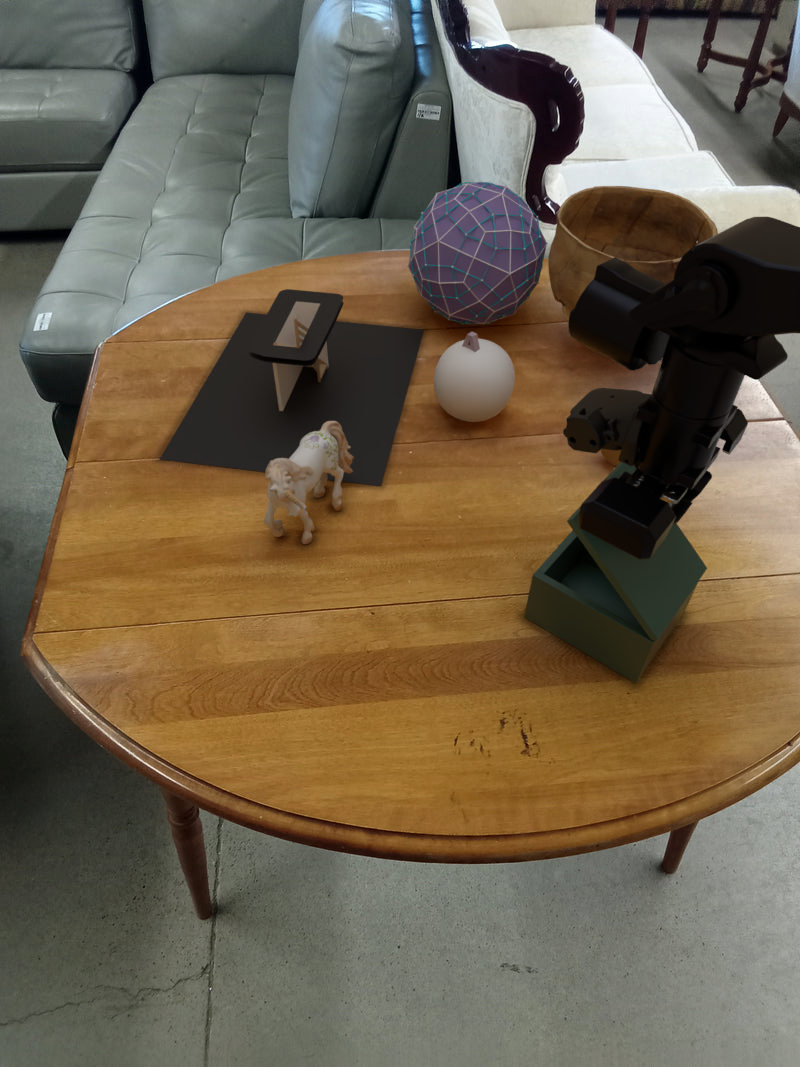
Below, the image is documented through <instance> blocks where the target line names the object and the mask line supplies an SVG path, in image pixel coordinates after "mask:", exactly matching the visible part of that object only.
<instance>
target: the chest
mask: <svg viewBox="0 0 800 1067" xmlns="http://www.w3.org/2000/svg"><path fill="white" fill-rule="evenodd" d="M697 585H698V583H697V584H696V585H695V587H694V588H693V590H692V591H691V593H690V594H689V596H688V597H687V598H686V600H685V601H684V603H683V604H682V606H681V607H680V609H679V610H678V611H677V613H676V614H675V616H674V617H673V619H672V620H671V622H670V623H669V624H668V626H667V627H666V629H665V630H664V632H663V633H662V635H661V636H660V637H659V639H657V640H651V639H650V638H649V636H648V635H647V633H646V632H645V631H644V629H643V628H642V626H641V625H640V624H639V622H638V621H637V619H636V618H635V617H634V615H633V614H632V612H631V611H630V609H629V608H628V607H627V605H626V604H625V602H624V601H623V600H622V598H621V597H620V595H619V594H618V593H617V591H616V590H615V588H614V587H613V586H612V584H611V583H610V581H609V580H608V579H607V577H606V576H605V574H604V573H603V572H602V570H601V569H600V567H599V566H598V565H597V563H596V562H595V560H594V559H593V557H592V556H591V555H590V553H589V552H588V550H587V549H586V548H585V546H584V545H583V543H582V542H581V541H580V539H579V538H578V536H577V535H576V534H575V532H574V531H573V529H571V531H570V532H569V534H568V535H567V536H565V538H564V539H563V540H562V541H561V543H560V544H558V546H557V547H556V548H555V549H554V550H553V551H552V553H550V554H549V556H548V557H547V558H546V559H545V560H544V562H542V563H541V565H540V566H539V567H538V569H537V570H535V572H534V573H533V574H532V577H531V582H530V586H529V587H530V588H529V592H528V596H527V600H526V601H527V602H526V605H525V606H526V607H525V611H524V618H525V619H526V620H529V621H530V622H532V623H533V624H535V625H536V626H538V627H540V628H542V629H543V630H545V631H547V632H548V633H550V634H551V635H553V636H555V637H557V638H559V639H560V640H562V641H563V642H565V643H567V644H569V645H570V646H572V647H573V648H576V649H577V650H578V651H580V652H582V653H584V654H585V655H587V656H589V657H590V658H592V659H594V660H595V661H597V662H599V663H601V664H602V665H603V666H605V667H607V668H609V669H611V671H614V672H616V673H617V674H619V675H620V676H623V677H624V678H626V679H627V680H629V681H630V682H632V683H634V684H637V683H638V682H639V681H640V679H641V677H642V676H643V675H644V673H645V671H646V670H647V669H648V667H649V666H650V664H651V663H652V661H653V660H654V658H655V657H656V655H657V654H658V652H659V651H660V649H661V648H662V646H664V644H665V642H666V641H667V639H668V638H669V637H670V635H671V634H672V632H673V630H674V629H675V627H676V626H677V625H678V624H679V621H681V619H682V618H683V616H684V614H685V612H686V609H687V608H688V605H689V603H690V601H691V598H692V597H693V594H694V592H695V590H696V588H697Z"/></svg>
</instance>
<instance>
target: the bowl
mask: <svg viewBox="0 0 800 1067" xmlns="http://www.w3.org/2000/svg"><path fill="white" fill-rule="evenodd" d="M717 234H719V232H718V228H717V226H716V223H715V222H714V221H713V220H712V219H711V218H710V217H709V215H708V214H707V213H706V212H705V211H704V210H703V209H702V208H701V207H699V206H698V205H697V204H696V203H694V202H693V201H691V200H690V199H688V198H686V197H683V196H681V195H679V194H676V193H673V192H670V191H666V190H662V189H656V188H655V189H654V188H644V187H635V186H628V185H626V186H625V185H598V186H592V187H587V188H584V189H582V190H579V191H577V192H574V193H573V194H571V195H570V196H568V198H566V199H565V200H564V202H562V204H561V205H560V206H559V209H558V212H557V215H556V228H555V233H554V237H553V240H552V242H551V244H550V247H549V248H550V249H549V253H548V264H547V265H548V266H547V267H548V277H549V283H550V288H551V292H552V295H553V298H554V300H555V301H556V302H558V303H560V304H561V306H562V307H561V310H562V314H563V317H564V318H565V320H566V322H567V323H569V317H570V313H571V311H572V310H573V309H574V308H575V306H576V303H577V301H578V300H579V298H580V296H581V294H582V293H583V291H584V290H585V288H586V287H587V286H588V285H589V284H590V282H591V281H592V280H593V279H594V277H595V273H596V268H597V266H598V265H600V264H602V263H604V262H606V261H608V260H610V259H612V258H614V257H616V258H618V259H620V260H622V261H625V262H626V263H628V264H629V265H630V266H632V267H633V268H634V269H636V270H638V271H640V272H642V273H644V274H646V275H649V276H651V277H653V278H655V279H657V280H659V281H661V282H663V283H666V284H667V283H669V282H670V281H672V280H674V275H675V271H676V267H677V265H678V263H679V262H680V260H681V258H682V257H683V255H684V254H685V253H687V252H688V251H689V250H690V249H691V248H693V247H694V246H696V245H698V244H700V243H701V242H703V241H705V240H707V239H709V238H711V237H713V236H715V235H717ZM587 348H588V349H589V350H591V351H592V352H594V353H596V354H600V353H598V352H596V351H594V350H593V349H591V348H589V347H587ZM600 355H601V354H600Z"/></svg>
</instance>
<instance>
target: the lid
mask: <svg viewBox="0 0 800 1067" xmlns="http://www.w3.org/2000/svg"><path fill="white" fill-rule="evenodd" d="M635 470H636V467H635V465H633V466H629V465H627V464H625V463H623V462H620V463H619V464H618V465H617V466H615V467H614V468H613V469H612V470H611V472H610V473H609V474H608V475H607V476H606V477H605V478H604V480H608V479H611V478H615V477H616V478H618V479H619V477H620V476H621V475H622V474H623V473H624V472H625V471H626V472H628V473H631V474H633V473H634V472H635ZM580 508H581V505H580V506H579V507H578V508H577V509H576V510H575V511H574V512H573V513H572V514H571V516H570V517H569V518H568V519H567V520H566V523H567V524H568V525H569V526H570V528H571V530H573V531H574V532H575V534H576V535H577V536H578V538H579V539H580V541H581V542H582V543H583V545H584V546H585V548H586V549H587V550H588V552H589V553H590V555H591V556H592V557H593V559H594V560H595V562H596V563H597V565H598V566H599V567H600V569H601V570H602V572H603V573H604V574H605V576H606V577H607V579H608V580H609V581H610V583H611V584H612V586H613V587H614V588H615V590H616V591H617V593H618V594H619V595H620V597H621V598H622V600H623V601H624V602H625V604H626V605H627V607H628V608H629V609H630V611H631V612H632V614H633V615H634V617H635V618H636V619H637V621H638V622H639V624H640V625H641V626H642V628H643V629H644V631H645V632H646V633H647V635H648V636H649V638H650V639H651V640H657V639H659V637H660V636H661V635H662V633H663V632H664V630H665V629H666V627H667V626H668V624H669V623H670V622H671V620H672V619H673V617H674V616H675V614H676V613H677V611H678V610H679V609H680V607H681V606H682V604H683V603H684V601H685V600H686V598H687V597H688V596H689V594H690V593H691V591H692V590H693V588H694V587H695V585H696V584H697V585H698V583H699V581H700V580H701V579H702V577H703V575H704V574H705V573H706V571H707V570H708V567H707V566H706V564H705V563H704V561H703V560H702V558H701V557H700V555H699V554H698V552H697V551H696V550H695V548H694V546H693V544H692V543H691V542H690V541H689V539H688V537H687V536H686V535H685V533H684V532H683V530H682V529H681V528H680V526H679V525H678V522H677V523H675V524H673V526H672V528H671V529H670V531H669V533H668V535H667V536H666V538H665V540H664V541H663V542H662V544H661V545H660V546H659V548H658V549H657V550H656V551H655V553H654V554H653V555H652V557H651V558H650V559H638V558H636V557H634V556H632V555H630V554H628V553H627V552H625V551H623V550H621V549H619V548H617V547H615V546H613V545H611V544H609V543H607V542H605V541H603V540H602V539H600V538H598V537H596V536H594V535H592V534H590V533H588V532H586V531H584V530H582V529H580V527H579V525H578V522H577V519H578V516H579V512H580Z"/></svg>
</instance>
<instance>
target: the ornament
mask: <svg viewBox="0 0 800 1067" xmlns="http://www.w3.org/2000/svg"><path fill="white" fill-rule="evenodd" d="M515 382H516V372H515V368H514V363H513V361H512V359H511V357H510V356H509V354H508V353H507V351H506V350H505V349H503V348H502V347H501V346H500V345H498V344H497V343H495V342H493V341H492V340H489V339H484V338H479V337H478V333H476V332H474V331H470V332H469V333H467V334H466V336H465V339H463V340H459V341H457V342H455V343H453V344H452V345H450V346H449V347H448V348H446V350H445V351H444V352H443V353H442V355H441V356H440V358H439V359H438V361H437V364H436V366H435V370H434V373H433V390H434V394H435V397H436V399H437V402H438V404H439V406H441V408H442V409H443V410H444V411H445V412H446V413H447V414H449V415H450V416H452V417H453V418H455V419H457V420H459V421H463V422H468V423H477V422H478V423H479V422H484V421H488V420H490V419H492V418H494V417H496V416H497V415H499V414H500V413H501V412H503V410H504V409H505V407H507V405H508V403H509V402H510V399H511V398H512V395H513V393H514V390H515Z"/></svg>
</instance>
